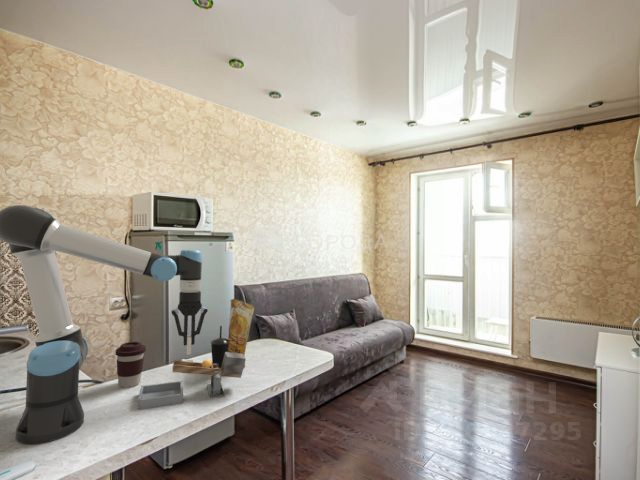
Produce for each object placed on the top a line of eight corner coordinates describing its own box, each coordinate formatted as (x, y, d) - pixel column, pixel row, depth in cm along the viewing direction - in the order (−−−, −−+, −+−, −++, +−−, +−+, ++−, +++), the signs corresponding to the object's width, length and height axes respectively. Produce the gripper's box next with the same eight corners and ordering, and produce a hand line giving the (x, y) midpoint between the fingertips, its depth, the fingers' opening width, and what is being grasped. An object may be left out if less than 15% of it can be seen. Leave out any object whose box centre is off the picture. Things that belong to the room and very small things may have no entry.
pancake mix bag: (234, 355, 159) (237, 297, 159) (253, 368, 144) (256, 304, 145) (221, 358, 155) (223, 298, 155) (239, 371, 140) (242, 305, 140)
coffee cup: (116, 392, 118) (118, 350, 118) (112, 382, 125) (113, 342, 125) (146, 385, 124) (148, 345, 124) (141, 376, 132) (142, 338, 132)
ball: (200, 369, 118) (204, 360, 118) (200, 366, 121) (203, 357, 122) (210, 371, 119) (213, 362, 120) (209, 368, 122) (212, 359, 123)
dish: (137, 409, 107) (137, 400, 107) (140, 393, 117) (141, 385, 117) (182, 402, 112) (183, 394, 112) (182, 388, 123) (182, 380, 123)
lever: (172, 372, 113) (178, 351, 114) (172, 361, 124) (177, 342, 124) (240, 378, 123) (245, 358, 123) (235, 367, 133) (240, 349, 134)
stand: (209, 397, 116) (210, 373, 116) (207, 385, 126) (207, 363, 126) (224, 395, 118) (225, 371, 118) (220, 383, 128) (221, 361, 128)
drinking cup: (222, 378, 132) (225, 329, 132) (205, 376, 134) (207, 327, 134) (231, 371, 140) (233, 324, 140) (215, 369, 141) (217, 322, 141)
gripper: (171, 293, 118) (169, 358, 118) (209, 291, 123) (207, 354, 123) (171, 290, 125) (169, 352, 125) (207, 288, 130) (206, 348, 130)
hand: (188, 353), depth 124 cm, fingers closed
